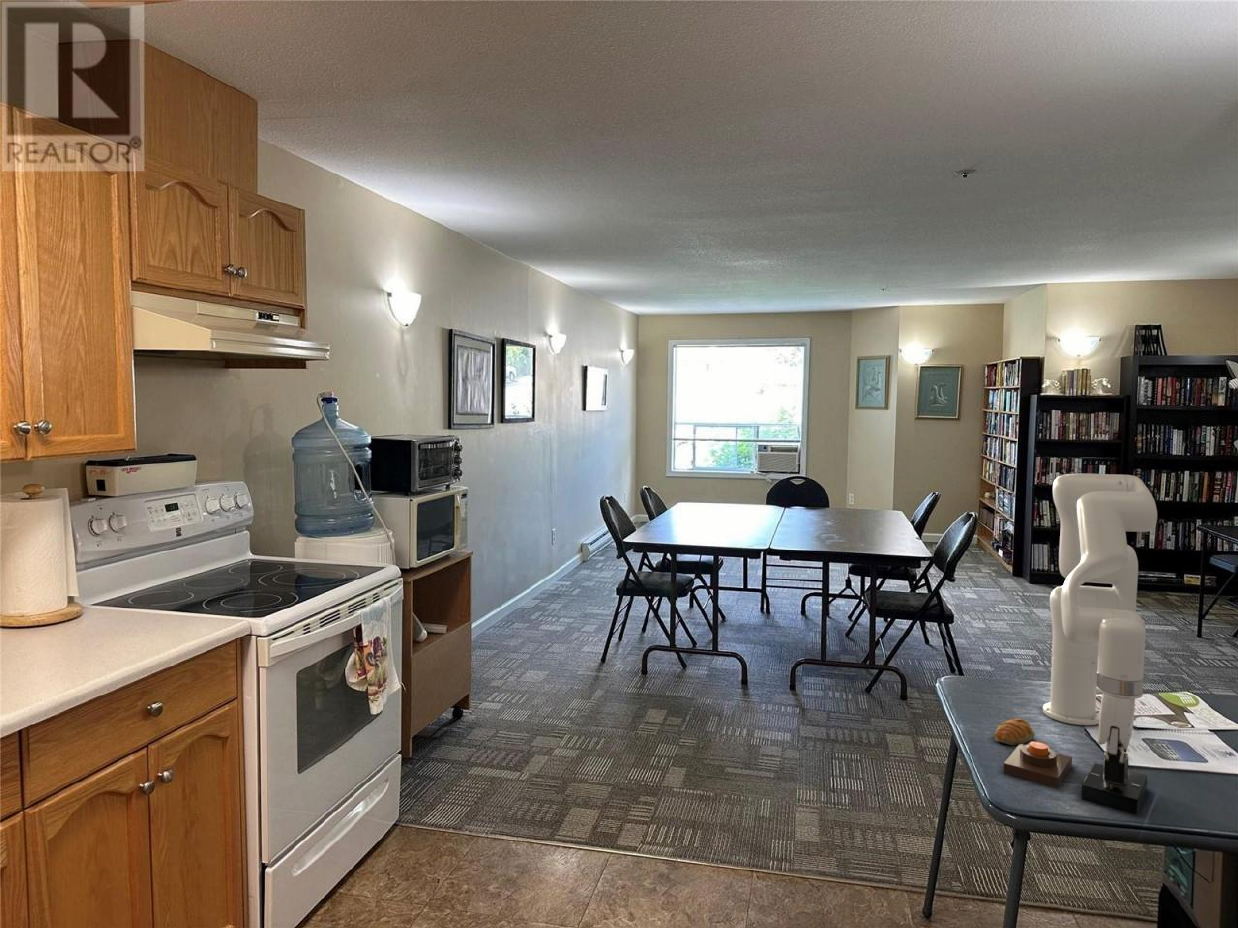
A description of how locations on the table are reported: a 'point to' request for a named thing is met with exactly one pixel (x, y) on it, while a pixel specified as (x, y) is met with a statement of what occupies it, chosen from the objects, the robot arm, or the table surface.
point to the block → (1038, 766)
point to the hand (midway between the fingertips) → (1115, 775)
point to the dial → (1125, 760)
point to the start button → (1038, 748)
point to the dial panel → (1114, 790)
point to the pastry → (1014, 732)
